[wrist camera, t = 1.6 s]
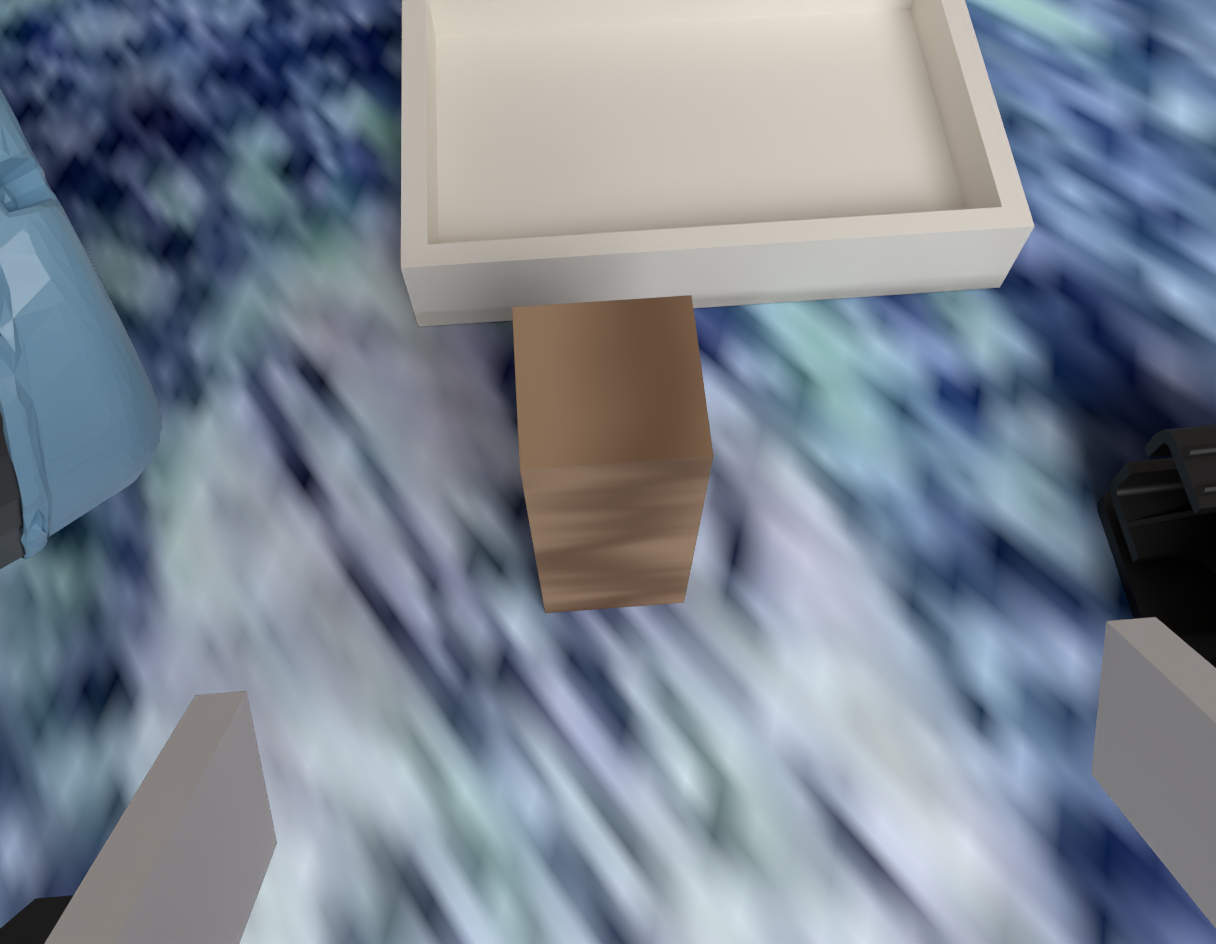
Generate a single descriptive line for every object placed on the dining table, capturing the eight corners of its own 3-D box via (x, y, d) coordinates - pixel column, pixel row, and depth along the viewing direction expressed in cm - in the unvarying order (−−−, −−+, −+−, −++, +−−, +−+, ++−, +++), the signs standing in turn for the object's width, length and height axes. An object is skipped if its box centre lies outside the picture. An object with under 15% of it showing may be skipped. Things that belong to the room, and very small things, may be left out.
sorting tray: (418, 326, 43) (400, 268, 40) (417, 39, 50) (402, -33, 47) (999, 287, 44) (1034, 226, 41) (921, 9, 51) (945, -64, 47)
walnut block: (545, 612, 38) (520, 469, 27) (538, 486, 40) (511, 306, 30) (683, 602, 38) (713, 456, 28) (669, 476, 41) (691, 295, 30)
